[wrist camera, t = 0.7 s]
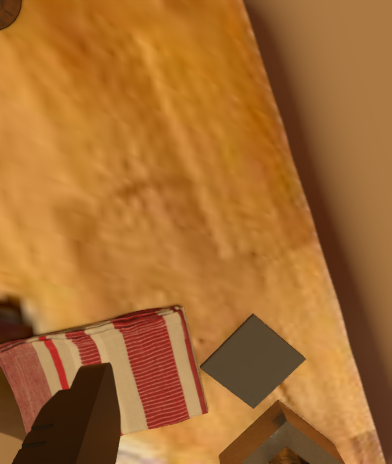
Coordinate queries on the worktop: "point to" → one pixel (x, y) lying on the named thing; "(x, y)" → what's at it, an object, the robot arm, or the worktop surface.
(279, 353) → the rubber mat
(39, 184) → the worktop surface
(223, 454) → the bore block
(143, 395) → the dish towel
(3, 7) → the pepper mill
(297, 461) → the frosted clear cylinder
